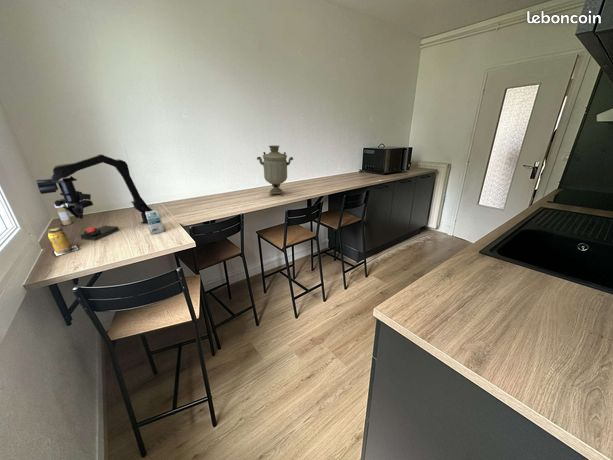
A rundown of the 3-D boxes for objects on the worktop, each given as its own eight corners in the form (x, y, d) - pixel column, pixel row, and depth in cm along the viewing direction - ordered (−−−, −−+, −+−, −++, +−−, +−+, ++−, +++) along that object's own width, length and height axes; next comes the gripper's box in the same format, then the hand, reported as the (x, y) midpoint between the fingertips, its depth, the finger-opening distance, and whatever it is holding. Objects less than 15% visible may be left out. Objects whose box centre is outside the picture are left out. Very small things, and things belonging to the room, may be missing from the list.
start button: (98, 230, 140) (96, 227, 139) (91, 233, 136) (89, 229, 135) (92, 229, 141) (91, 226, 140) (85, 232, 137) (83, 229, 136)
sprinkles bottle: (73, 222, 161) (64, 202, 155) (70, 224, 157) (62, 204, 152) (64, 223, 159) (55, 203, 154) (61, 225, 155) (52, 205, 150)
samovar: (298, 190, 229) (297, 144, 213) (290, 198, 206) (288, 147, 190) (267, 188, 236) (264, 143, 219) (256, 196, 212) (251, 146, 196)
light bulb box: (164, 231, 146) (160, 214, 142) (151, 234, 143) (146, 216, 138) (162, 225, 154) (157, 209, 150) (149, 228, 151) (144, 211, 146)
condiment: (54, 251, 125) (43, 229, 120) (75, 245, 131) (66, 224, 126) (56, 256, 121) (45, 233, 116) (79, 249, 127) (69, 228, 122)
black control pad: (119, 230, 149) (116, 224, 147) (95, 240, 136) (92, 234, 134) (105, 228, 151) (103, 222, 149) (80, 239, 138) (78, 232, 136)
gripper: (97, 187, 135) (107, 214, 142) (71, 185, 139) (81, 212, 146) (76, 192, 125) (87, 221, 132) (48, 190, 130) (60, 218, 136)
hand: (79, 218), depth 137 cm, fingers closed
